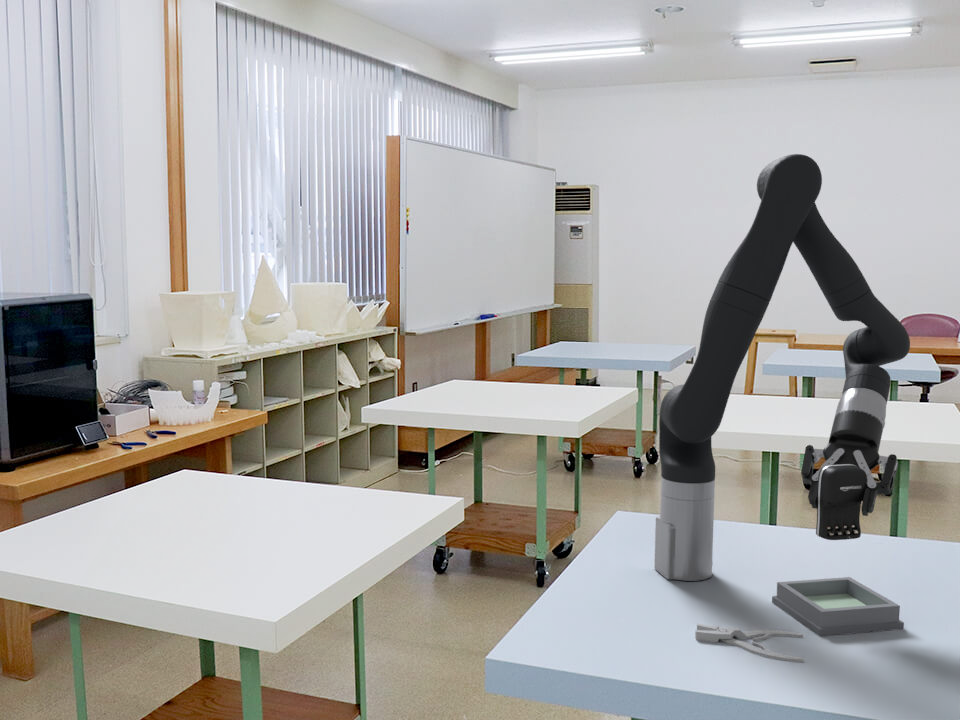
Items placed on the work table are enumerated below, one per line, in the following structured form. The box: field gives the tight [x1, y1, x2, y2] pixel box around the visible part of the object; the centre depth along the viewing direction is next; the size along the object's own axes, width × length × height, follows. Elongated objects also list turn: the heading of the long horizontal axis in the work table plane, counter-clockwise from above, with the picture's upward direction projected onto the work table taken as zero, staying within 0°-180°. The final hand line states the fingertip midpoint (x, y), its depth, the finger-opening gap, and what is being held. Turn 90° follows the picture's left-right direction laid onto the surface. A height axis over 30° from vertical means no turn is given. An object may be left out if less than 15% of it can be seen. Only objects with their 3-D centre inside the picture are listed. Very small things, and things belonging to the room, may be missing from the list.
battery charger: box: [815, 464, 867, 541], centre depth 147 cm, size 7×4×11 cm, turn 103°
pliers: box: [694, 623, 804, 663], centre depth 139 cm, size 10×2×15 cm
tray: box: [771, 576, 905, 637], centre depth 149 cm, size 14×14×4 cm
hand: (839, 509), depth 146 cm, fingers closed on battery charger, 7 cm apart
